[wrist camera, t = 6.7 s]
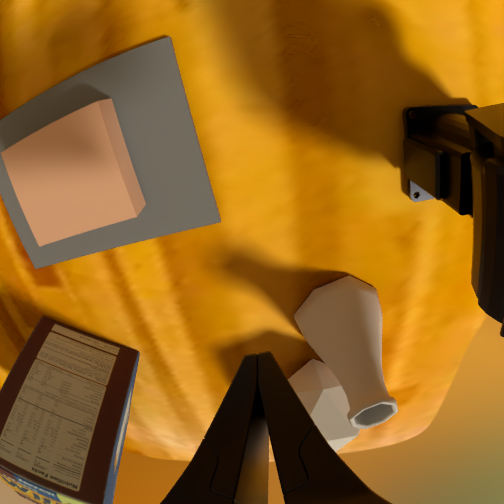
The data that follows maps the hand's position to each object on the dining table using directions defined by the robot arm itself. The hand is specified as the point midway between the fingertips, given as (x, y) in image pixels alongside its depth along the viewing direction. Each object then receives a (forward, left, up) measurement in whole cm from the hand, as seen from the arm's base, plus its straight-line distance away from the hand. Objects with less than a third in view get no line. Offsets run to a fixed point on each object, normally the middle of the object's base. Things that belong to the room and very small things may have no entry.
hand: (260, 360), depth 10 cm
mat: (+10, -6, -12) cm, 17 cm away
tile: (+6, -6, -10) cm, 13 cm away
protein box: (+21, +14, -12) cm, 28 cm away
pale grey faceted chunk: (-2, +18, -12) cm, 22 cm away
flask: (-5, +10, -12) cm, 17 cm away
